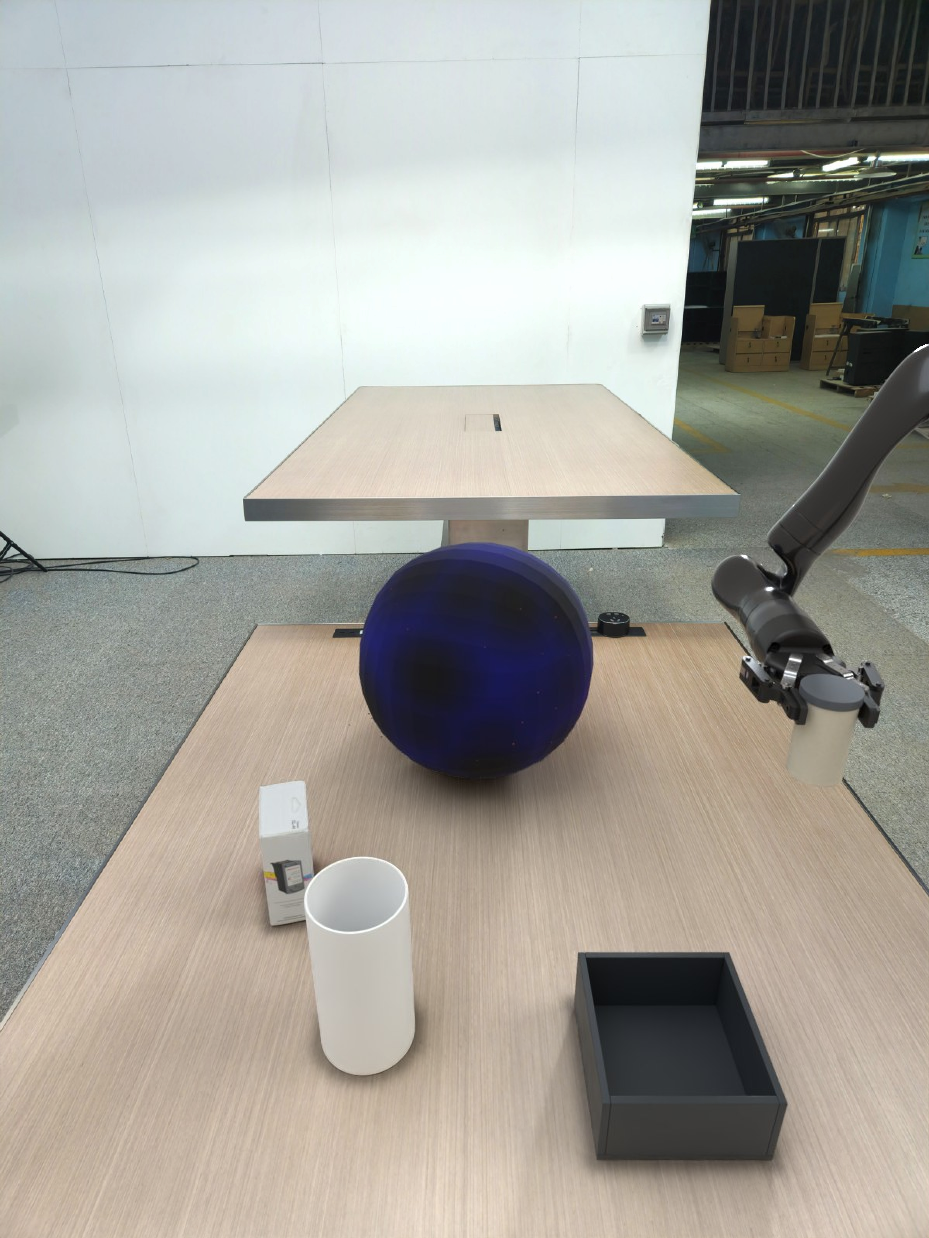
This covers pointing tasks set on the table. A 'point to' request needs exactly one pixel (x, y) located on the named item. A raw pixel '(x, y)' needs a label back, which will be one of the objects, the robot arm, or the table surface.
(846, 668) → the robot arm
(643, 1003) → the open storage box
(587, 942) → the table surface
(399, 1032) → the cup
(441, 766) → the ball
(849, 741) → the container
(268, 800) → the ink box
